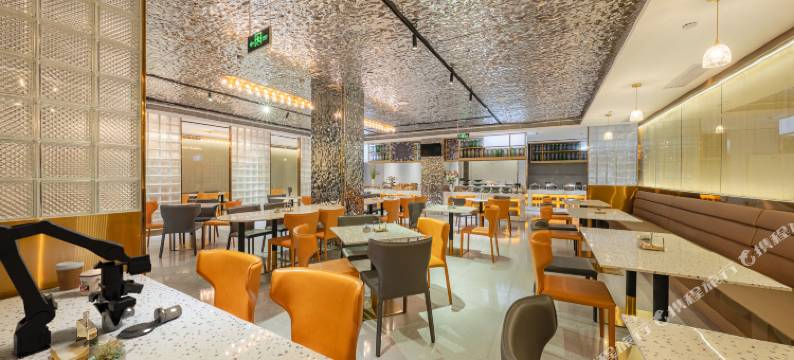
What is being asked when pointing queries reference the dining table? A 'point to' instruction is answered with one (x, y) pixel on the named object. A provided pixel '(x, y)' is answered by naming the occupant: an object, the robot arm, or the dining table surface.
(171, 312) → the silver metal long piece
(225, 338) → the dining table surface
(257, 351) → the dining table surface
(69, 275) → the disposable coffee cup
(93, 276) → the teacup with lid
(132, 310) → the elbow
